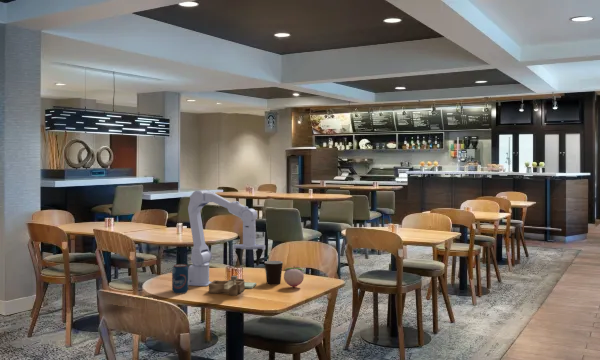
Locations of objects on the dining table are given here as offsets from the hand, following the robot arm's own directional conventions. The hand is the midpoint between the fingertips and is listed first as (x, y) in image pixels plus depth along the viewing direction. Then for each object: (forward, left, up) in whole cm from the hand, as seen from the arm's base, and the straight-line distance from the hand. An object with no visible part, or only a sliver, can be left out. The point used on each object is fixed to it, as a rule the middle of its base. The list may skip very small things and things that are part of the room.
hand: (249, 265), depth 262 cm
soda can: (-28, -13, -11) cm, 33 cm away
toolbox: (-8, -9, -10) cm, 16 cm away
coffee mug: (+9, +13, -11) cm, 19 cm away
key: (-4, -21, -5) cm, 22 cm away
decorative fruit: (+20, +4, -11) cm, 23 cm away
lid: (-5, +3, -11) cm, 12 cm away
